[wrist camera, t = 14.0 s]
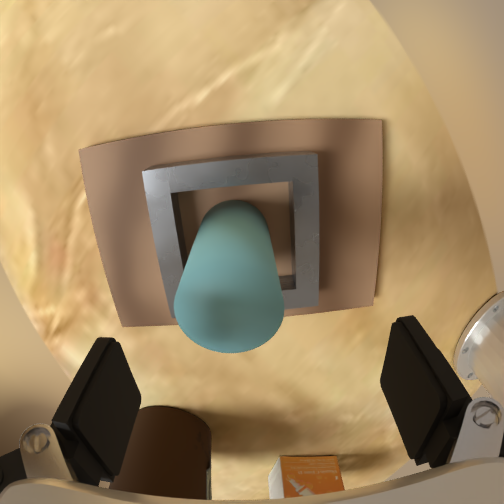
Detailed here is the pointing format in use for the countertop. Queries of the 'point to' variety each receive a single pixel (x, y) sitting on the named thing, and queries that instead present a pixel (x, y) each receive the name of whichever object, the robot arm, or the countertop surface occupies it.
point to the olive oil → (167, 456)
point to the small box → (304, 477)
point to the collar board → (248, 190)
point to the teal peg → (230, 282)
